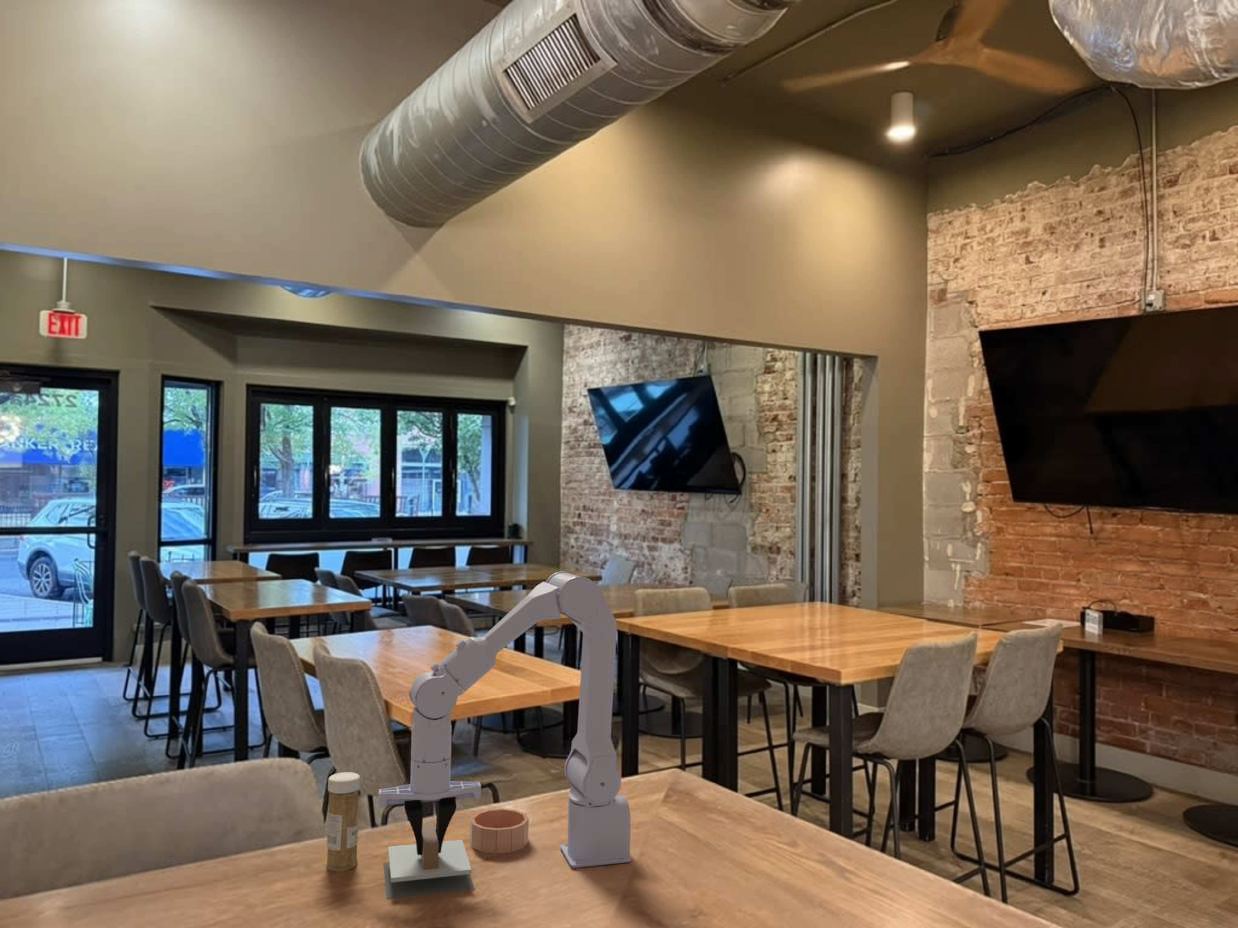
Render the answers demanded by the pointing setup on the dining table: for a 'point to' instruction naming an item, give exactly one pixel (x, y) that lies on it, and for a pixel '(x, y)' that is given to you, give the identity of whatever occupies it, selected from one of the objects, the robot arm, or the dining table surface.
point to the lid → (428, 858)
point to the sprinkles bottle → (342, 821)
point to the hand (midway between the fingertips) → (428, 851)
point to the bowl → (499, 831)
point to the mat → (425, 885)
